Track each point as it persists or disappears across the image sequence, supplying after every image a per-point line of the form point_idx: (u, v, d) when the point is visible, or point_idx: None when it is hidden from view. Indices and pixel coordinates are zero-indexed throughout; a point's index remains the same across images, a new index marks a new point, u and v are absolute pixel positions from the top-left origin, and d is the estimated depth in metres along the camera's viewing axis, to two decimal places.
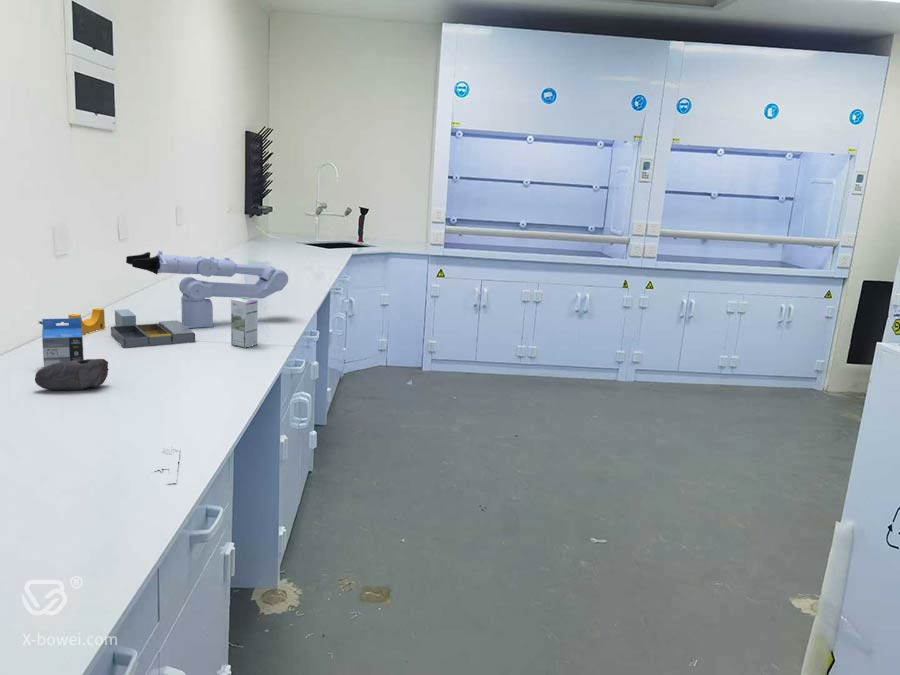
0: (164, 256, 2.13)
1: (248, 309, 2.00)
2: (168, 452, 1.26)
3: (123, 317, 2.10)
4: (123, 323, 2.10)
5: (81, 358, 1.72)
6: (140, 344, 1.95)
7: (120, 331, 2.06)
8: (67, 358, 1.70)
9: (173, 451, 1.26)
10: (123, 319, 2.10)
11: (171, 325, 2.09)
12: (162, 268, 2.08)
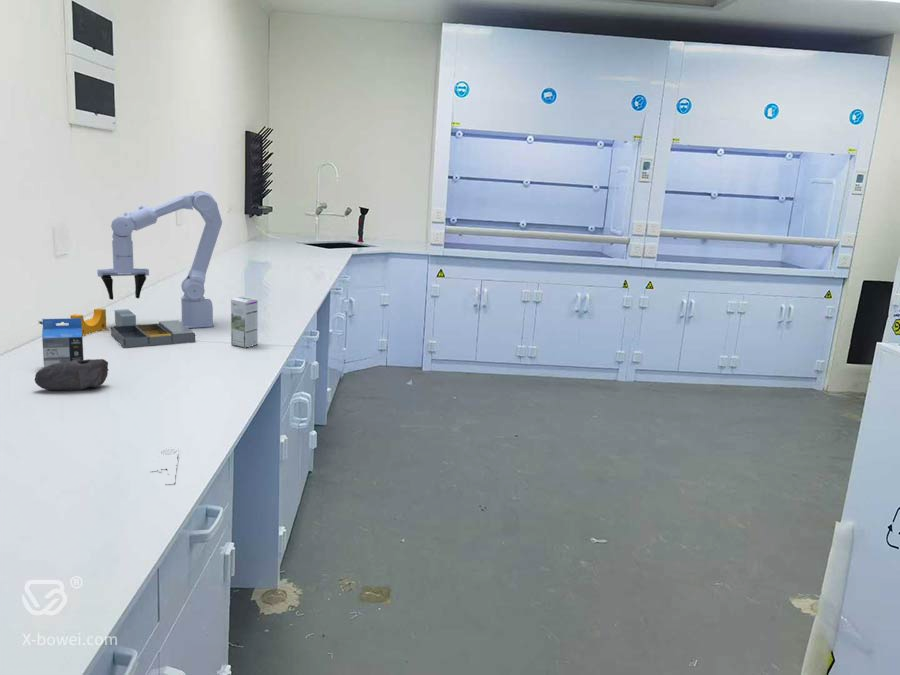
0: None
1: (248, 309, 2.00)
2: (167, 452, 1.26)
3: (123, 317, 2.10)
4: (123, 323, 2.10)
5: (81, 358, 1.72)
6: (140, 344, 1.95)
7: (120, 331, 2.06)
8: (67, 358, 1.70)
9: (172, 451, 1.26)
10: (123, 319, 2.10)
11: (171, 325, 2.09)
12: (98, 274, 2.07)
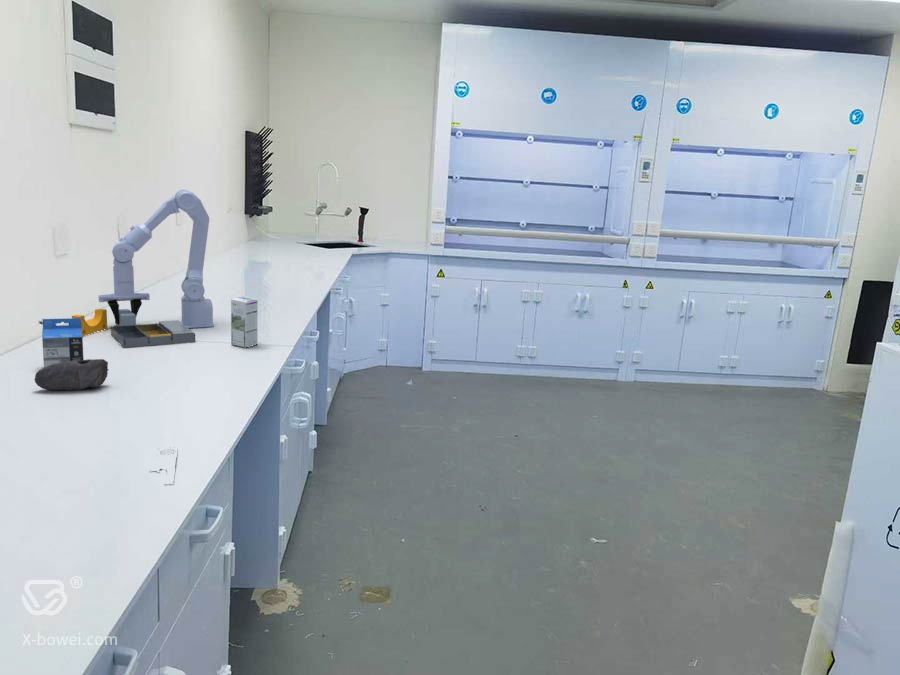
0: None
1: (248, 309, 2.00)
2: (165, 452, 1.26)
3: (123, 317, 2.10)
4: (123, 323, 2.10)
5: (81, 358, 1.72)
6: (140, 344, 1.95)
7: (120, 331, 2.06)
8: (67, 358, 1.70)
9: (171, 451, 1.26)
10: (123, 319, 2.10)
11: (171, 325, 2.09)
12: (99, 300, 2.09)
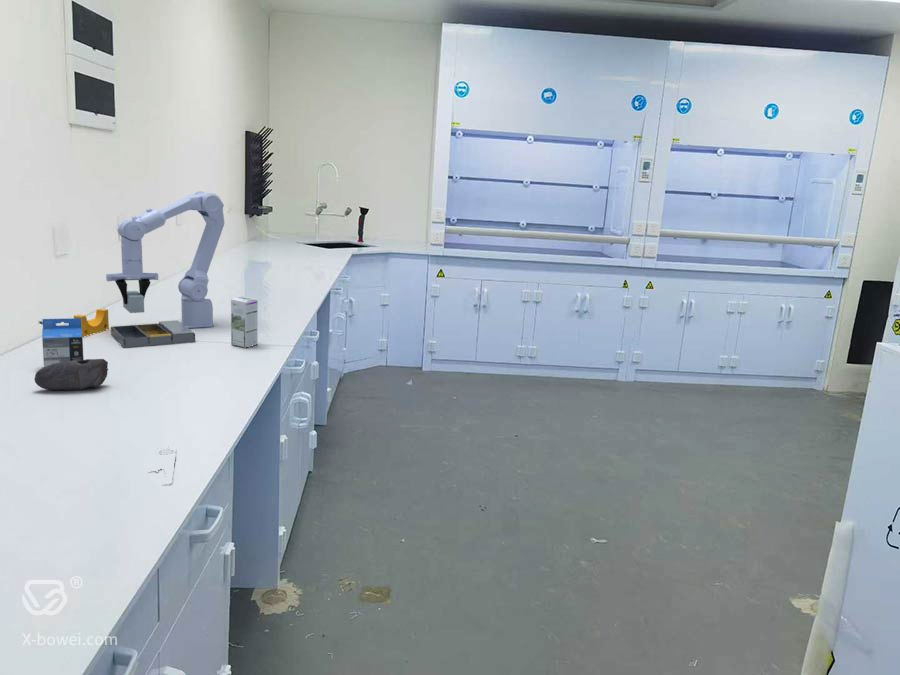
0: None
1: (248, 309, 2.00)
2: (164, 452, 1.25)
3: (131, 298, 2.05)
4: (131, 304, 2.05)
5: (81, 358, 1.72)
6: (140, 344, 1.95)
7: (120, 331, 2.06)
8: (67, 358, 1.70)
9: (169, 451, 1.26)
10: (131, 300, 2.05)
11: (171, 325, 2.09)
12: (107, 279, 2.04)
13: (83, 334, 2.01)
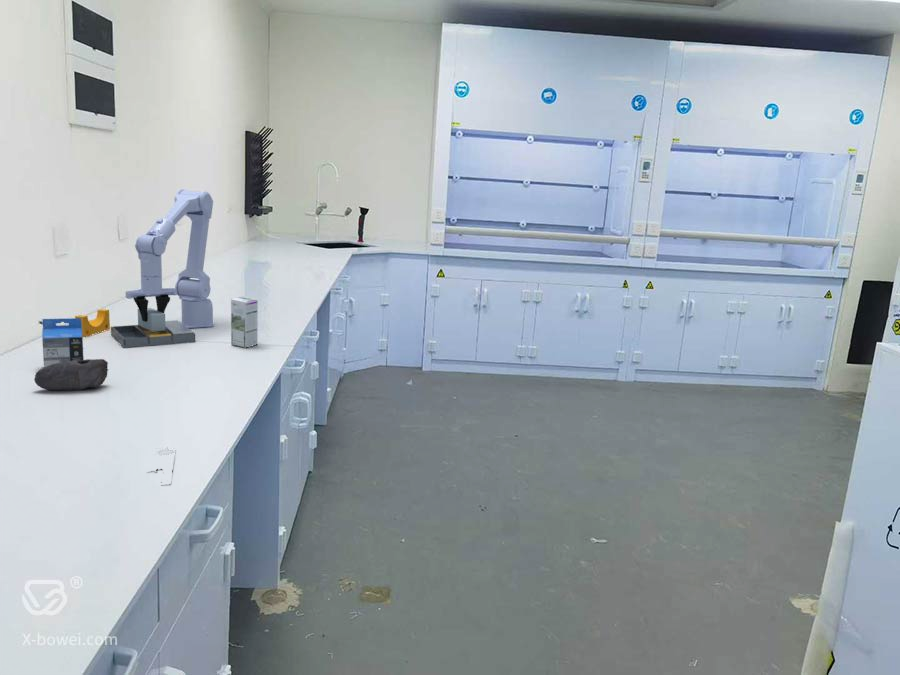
0: None
1: (248, 309, 2.00)
2: (163, 453, 1.25)
3: (153, 316, 1.99)
4: (153, 322, 2.00)
5: (81, 358, 1.72)
6: (140, 344, 1.95)
7: (120, 331, 2.06)
8: (67, 358, 1.70)
9: (168, 452, 1.26)
10: (153, 318, 1.99)
11: (171, 325, 2.09)
12: (127, 296, 1.96)
13: (84, 334, 2.00)
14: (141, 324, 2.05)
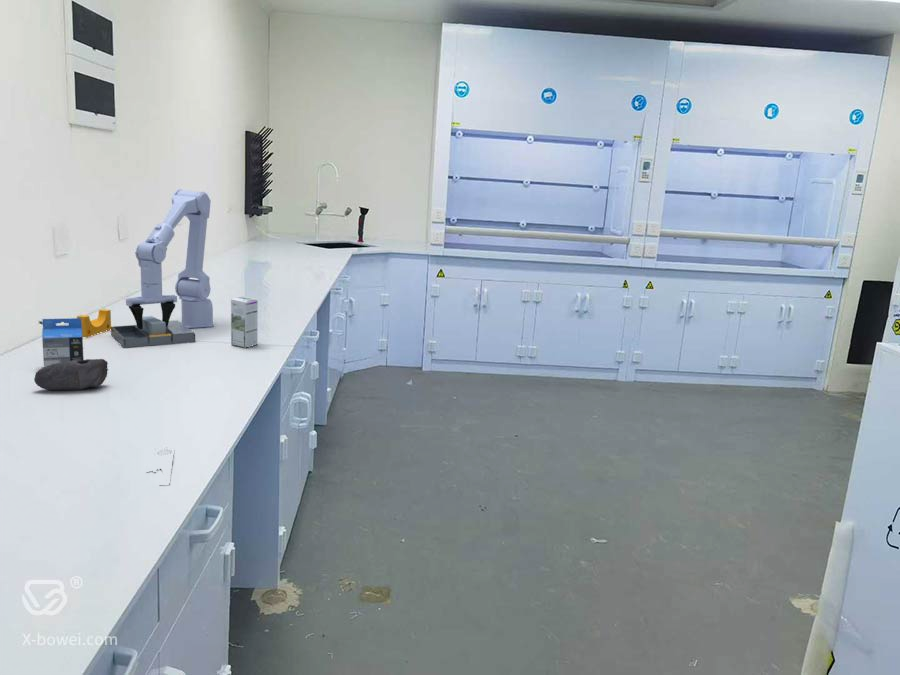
0: None
1: (248, 309, 2.00)
2: (162, 453, 1.25)
3: (153, 324, 2.00)
4: (153, 331, 2.00)
5: (81, 358, 1.72)
6: (140, 344, 1.95)
7: (120, 331, 2.06)
8: (67, 358, 1.70)
9: (167, 452, 1.26)
10: (153, 327, 2.00)
11: (171, 325, 2.09)
12: (128, 304, 1.97)
13: (86, 334, 2.00)
14: None
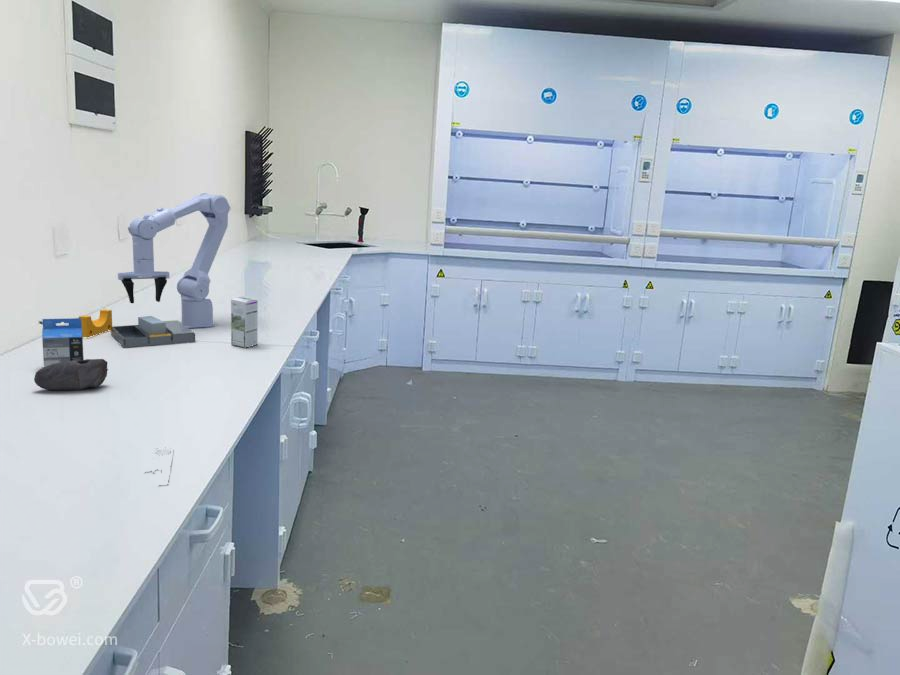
0: None
1: (248, 309, 2.00)
2: (161, 453, 1.25)
3: (153, 324, 2.00)
4: (153, 331, 2.00)
5: (81, 358, 1.72)
6: (140, 344, 1.95)
7: (120, 331, 2.06)
8: (67, 358, 1.70)
9: (166, 452, 1.26)
10: (153, 327, 2.00)
11: (171, 325, 2.09)
12: (119, 278, 2.03)
13: (88, 335, 2.00)
14: None
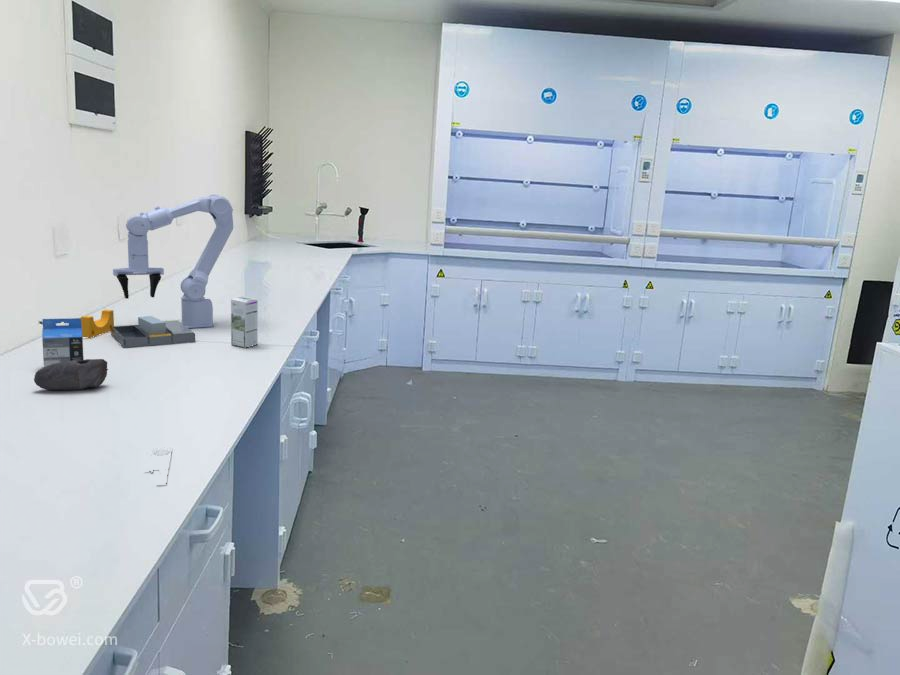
0: None
1: (248, 309, 2.00)
2: (160, 453, 1.25)
3: (153, 324, 2.00)
4: (153, 331, 2.00)
5: (81, 358, 1.72)
6: (140, 344, 1.95)
7: (120, 331, 2.06)
8: (67, 358, 1.70)
9: (165, 452, 1.26)
10: (153, 327, 2.00)
11: (171, 325, 2.09)
12: (114, 273, 2.08)
13: (90, 335, 2.00)
14: None
